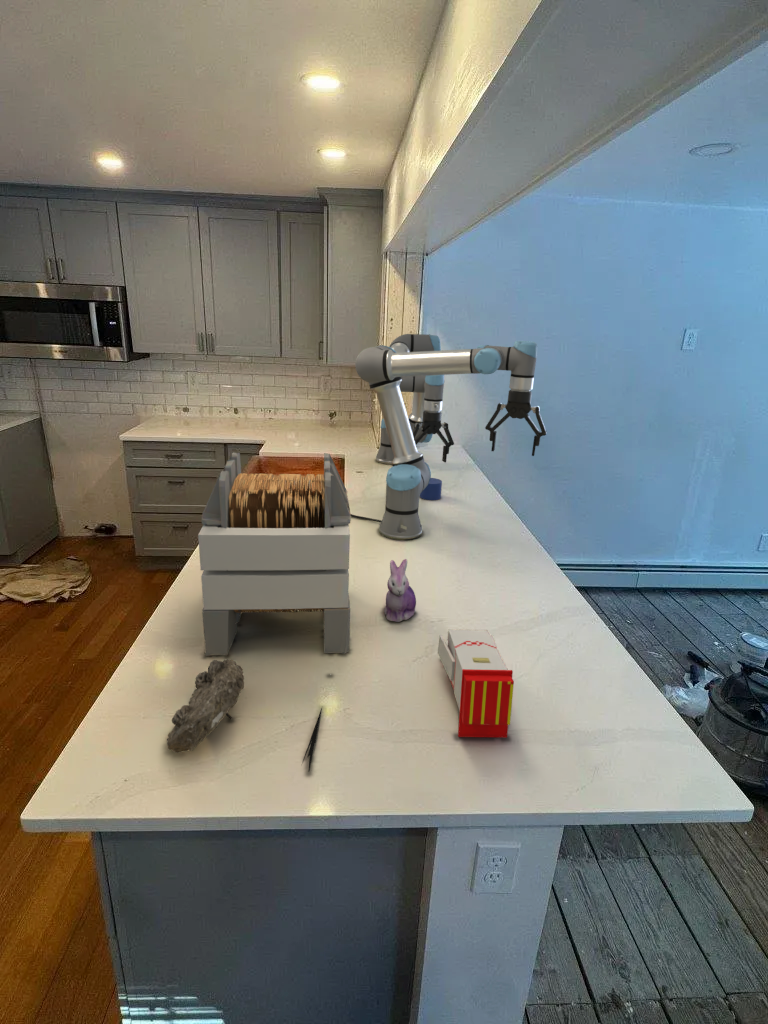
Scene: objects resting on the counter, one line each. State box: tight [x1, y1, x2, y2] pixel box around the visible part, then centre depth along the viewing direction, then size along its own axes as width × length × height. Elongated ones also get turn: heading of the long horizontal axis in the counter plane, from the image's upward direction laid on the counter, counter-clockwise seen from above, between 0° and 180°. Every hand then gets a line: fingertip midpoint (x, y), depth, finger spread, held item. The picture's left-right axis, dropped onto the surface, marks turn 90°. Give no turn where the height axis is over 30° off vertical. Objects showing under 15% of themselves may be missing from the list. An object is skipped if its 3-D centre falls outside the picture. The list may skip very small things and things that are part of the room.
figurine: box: [384, 558, 417, 623], centre depth 145 cm, size 9×10×15 cm
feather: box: [301, 673, 332, 771], centre depth 108 cm, size 2×28×2 cm
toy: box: [437, 628, 515, 738], centre depth 117 cm, size 12×13×30 cm
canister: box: [419, 477, 443, 501], centre depth 240 cm, size 9×9×7 cm
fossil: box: [166, 658, 245, 754], centre depth 106 cm, size 22×10×15 cm
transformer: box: [197, 451, 352, 657], centre depth 136 cm, size 34×33×41 cm
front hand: (512, 452), depth 194 cm, fingers open, 13 cm apart
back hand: (428, 462), depth 237 cm, fingers open, 13 cm apart
